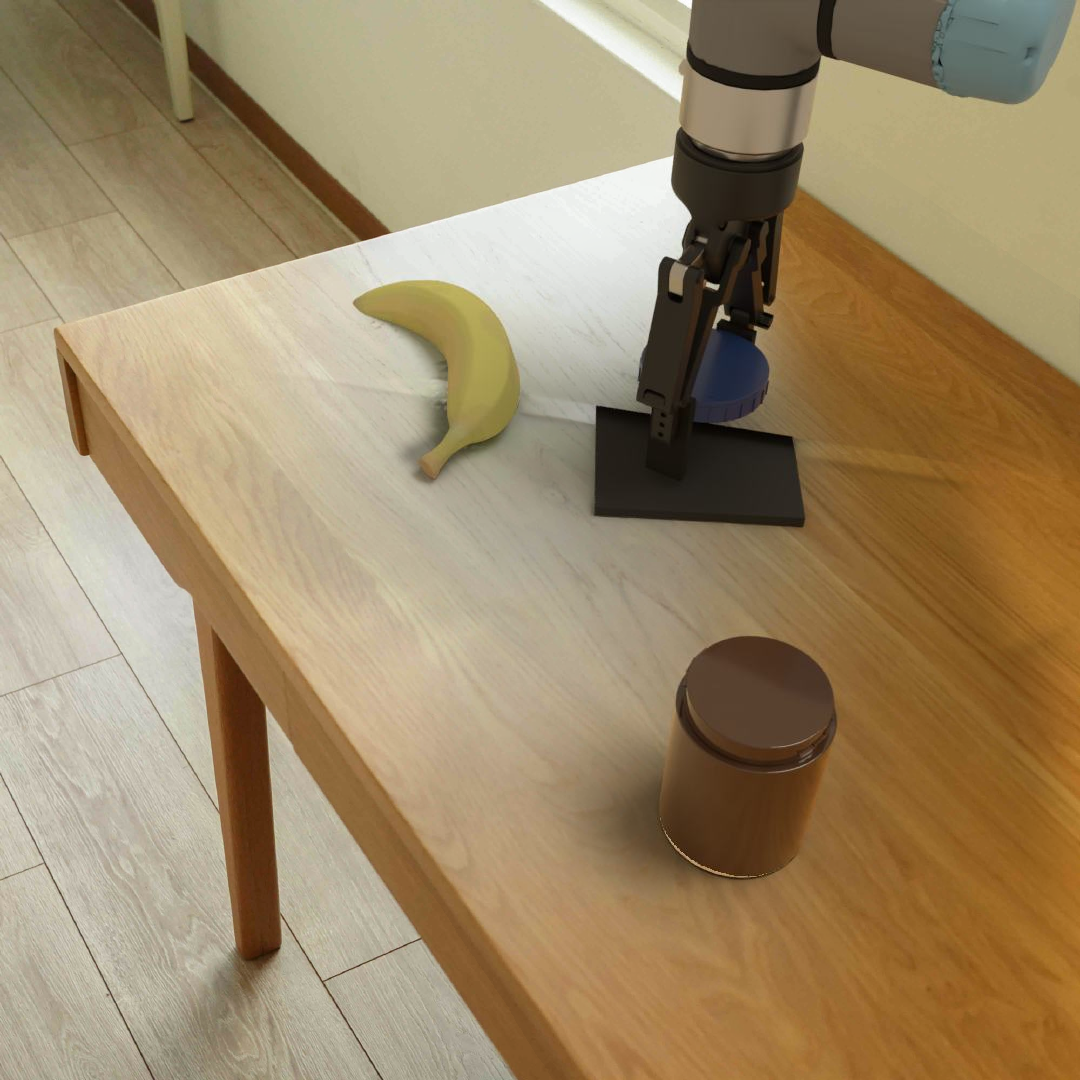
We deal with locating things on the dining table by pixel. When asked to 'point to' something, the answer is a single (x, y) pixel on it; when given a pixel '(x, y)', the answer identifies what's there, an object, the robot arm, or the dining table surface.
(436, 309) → the banana
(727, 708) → the jar
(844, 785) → the dining table surface
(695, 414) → the jar lid
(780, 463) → the tray
